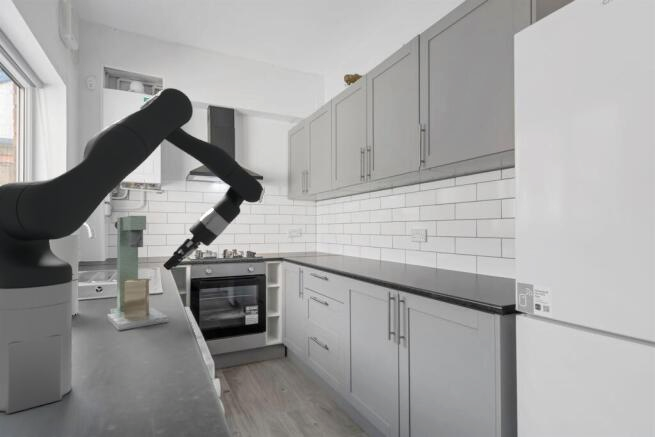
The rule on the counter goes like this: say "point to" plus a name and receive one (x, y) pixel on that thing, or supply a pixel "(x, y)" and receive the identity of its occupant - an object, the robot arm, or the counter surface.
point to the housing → (136, 298)
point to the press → (130, 272)
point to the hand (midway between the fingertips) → (169, 266)
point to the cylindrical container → (69, 261)
